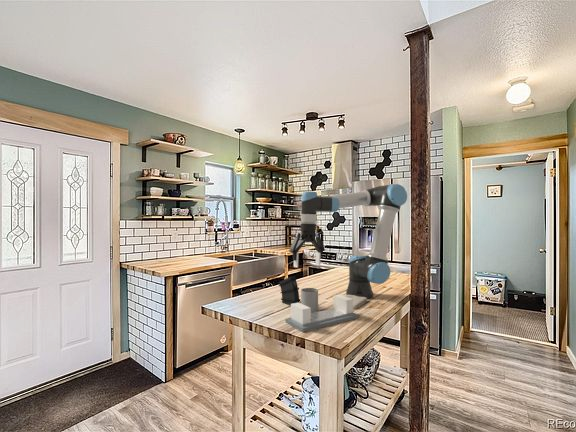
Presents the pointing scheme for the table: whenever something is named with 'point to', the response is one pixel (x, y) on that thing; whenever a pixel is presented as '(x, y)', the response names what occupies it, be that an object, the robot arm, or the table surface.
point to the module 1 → (301, 313)
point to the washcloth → (357, 300)
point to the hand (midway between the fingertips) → (307, 266)
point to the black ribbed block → (289, 291)
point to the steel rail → (324, 316)
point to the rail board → (321, 324)
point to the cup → (310, 298)
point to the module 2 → (343, 304)
